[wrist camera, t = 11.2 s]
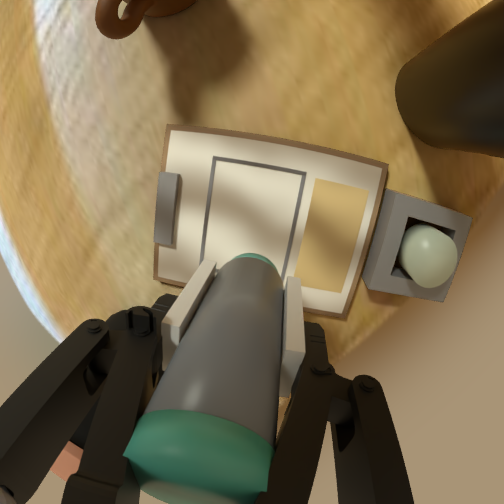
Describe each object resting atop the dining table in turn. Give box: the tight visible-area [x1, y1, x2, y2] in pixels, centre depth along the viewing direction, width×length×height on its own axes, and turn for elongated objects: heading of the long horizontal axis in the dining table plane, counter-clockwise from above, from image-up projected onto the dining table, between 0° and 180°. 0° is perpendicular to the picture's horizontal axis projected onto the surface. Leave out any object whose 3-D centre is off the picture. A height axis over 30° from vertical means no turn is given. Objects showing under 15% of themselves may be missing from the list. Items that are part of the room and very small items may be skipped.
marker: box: [123, 253, 284, 504], centre depth 12 cm, size 4×4×14 cm
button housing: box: [362, 189, 473, 302], centre depth 22 cm, size 8×8×2 cm
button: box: [397, 223, 457, 288], centre depth 20 cm, size 4×4×3 cm
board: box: [153, 124, 389, 318], centre depth 23 cm, size 14×18×2 cm
